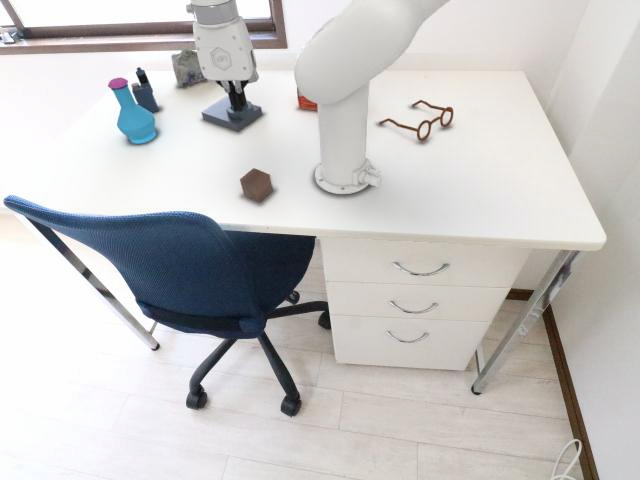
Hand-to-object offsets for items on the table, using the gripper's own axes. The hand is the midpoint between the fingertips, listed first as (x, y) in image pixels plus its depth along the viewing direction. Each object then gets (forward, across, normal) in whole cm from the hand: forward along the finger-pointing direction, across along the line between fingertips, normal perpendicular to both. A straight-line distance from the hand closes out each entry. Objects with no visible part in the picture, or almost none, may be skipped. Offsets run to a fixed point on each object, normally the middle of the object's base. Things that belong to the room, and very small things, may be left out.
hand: (240, 108), depth 79 cm
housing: (+13, -11, +19) cm, 25 cm away
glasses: (+14, +38, +18) cm, 44 cm away
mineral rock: (+13, -29, +39) cm, 51 cm away
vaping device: (+13, -37, +20) cm, 44 cm away
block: (+13, +5, -12) cm, 18 cm away
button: (+10, -8, +17) cm, 21 cm away
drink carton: (+14, +14, +27) cm, 33 cm away
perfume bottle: (+13, -33, +8) cm, 36 cm away
